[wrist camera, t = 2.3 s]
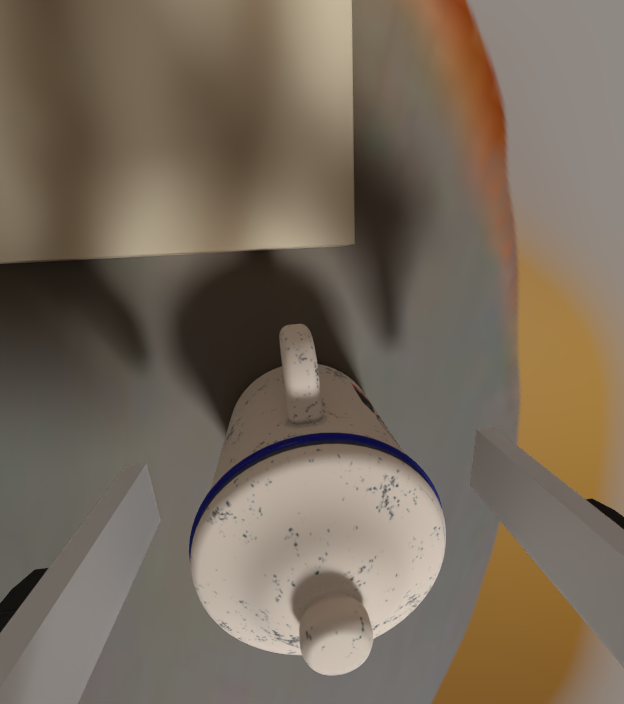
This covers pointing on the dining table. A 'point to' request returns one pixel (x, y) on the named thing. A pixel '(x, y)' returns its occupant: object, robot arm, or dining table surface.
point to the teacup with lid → (314, 518)
